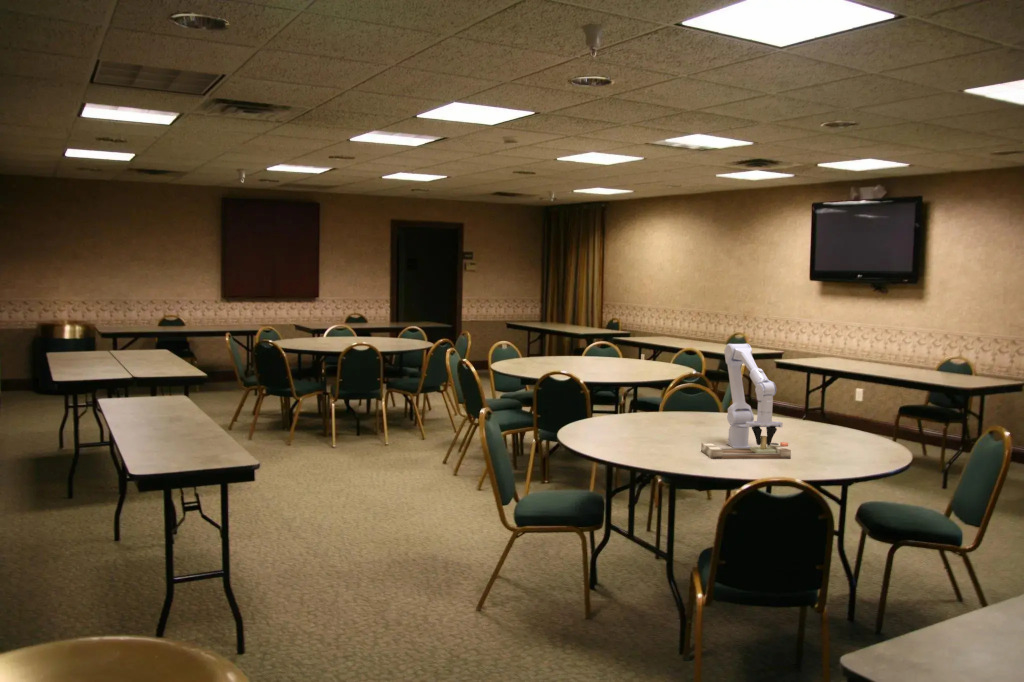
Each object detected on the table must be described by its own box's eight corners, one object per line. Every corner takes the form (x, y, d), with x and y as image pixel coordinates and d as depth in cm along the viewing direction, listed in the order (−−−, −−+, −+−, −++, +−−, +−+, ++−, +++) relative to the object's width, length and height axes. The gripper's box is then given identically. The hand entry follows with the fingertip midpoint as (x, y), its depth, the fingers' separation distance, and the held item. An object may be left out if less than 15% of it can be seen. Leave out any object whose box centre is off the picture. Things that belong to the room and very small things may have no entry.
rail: (701, 451, 328) (701, 442, 327) (776, 451, 330) (776, 442, 330) (712, 458, 314) (712, 449, 313) (790, 458, 316) (791, 449, 316)
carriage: (750, 450, 326) (751, 434, 325) (769, 450, 326) (769, 434, 326) (756, 453, 319) (757, 438, 318) (776, 453, 319) (776, 438, 319)
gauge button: (778, 444, 319) (779, 442, 319) (786, 445, 319) (786, 442, 319) (782, 446, 316) (782, 443, 316) (789, 446, 316) (789, 443, 316)
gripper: (751, 413, 317) (749, 446, 318) (786, 413, 318) (784, 446, 319) (744, 410, 324) (743, 443, 325) (779, 410, 325) (777, 443, 326)
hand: (763, 444), depth 322 cm, fingers open, 4 cm apart
